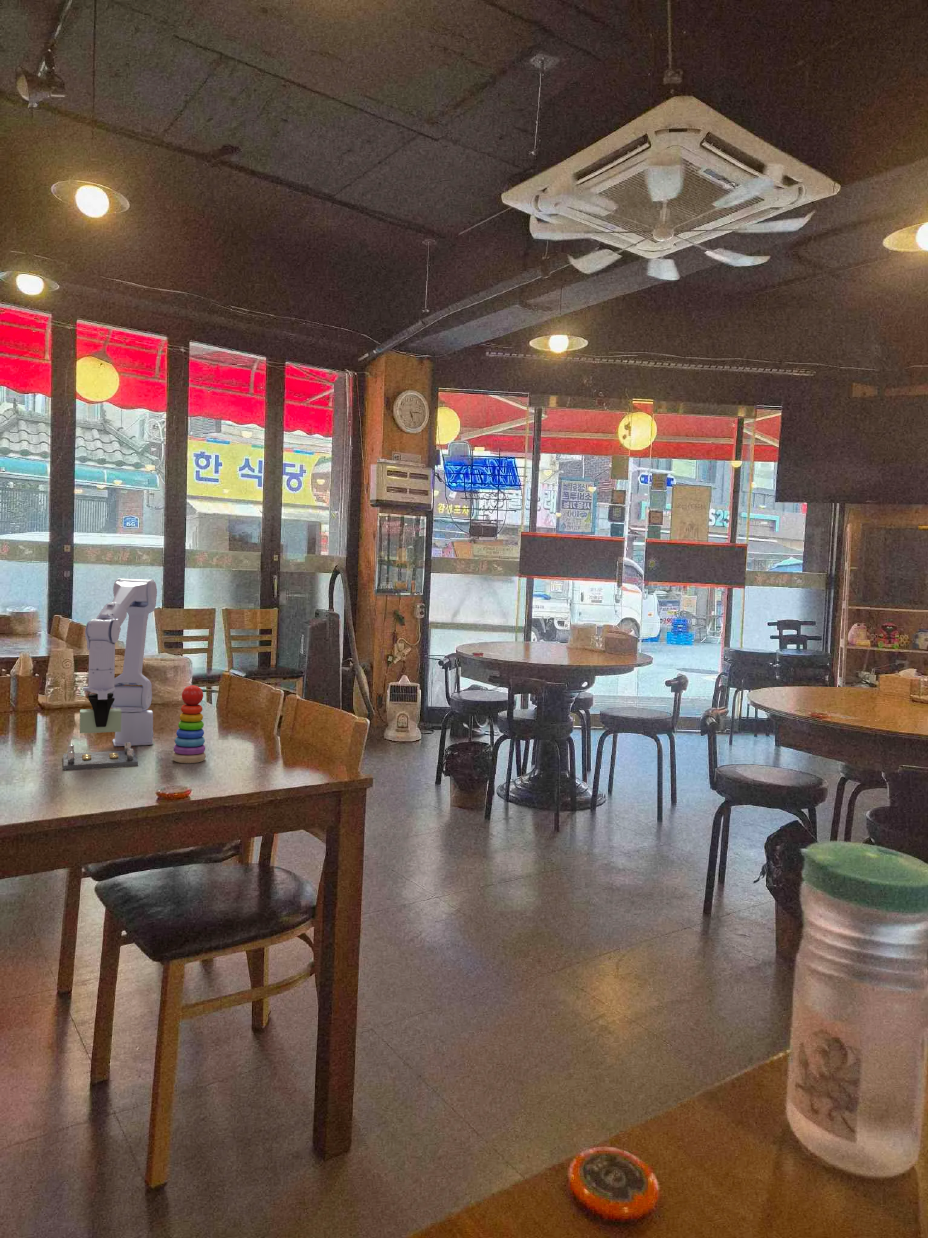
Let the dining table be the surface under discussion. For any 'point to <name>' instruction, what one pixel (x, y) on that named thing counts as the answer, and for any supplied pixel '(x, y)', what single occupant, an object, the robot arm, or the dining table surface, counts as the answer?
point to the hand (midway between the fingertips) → (100, 725)
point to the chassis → (99, 758)
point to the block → (90, 727)
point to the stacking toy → (190, 728)
